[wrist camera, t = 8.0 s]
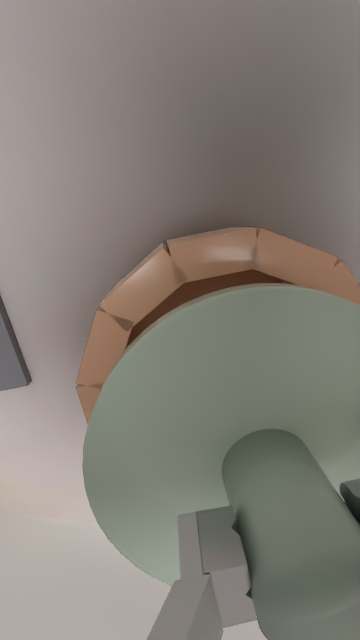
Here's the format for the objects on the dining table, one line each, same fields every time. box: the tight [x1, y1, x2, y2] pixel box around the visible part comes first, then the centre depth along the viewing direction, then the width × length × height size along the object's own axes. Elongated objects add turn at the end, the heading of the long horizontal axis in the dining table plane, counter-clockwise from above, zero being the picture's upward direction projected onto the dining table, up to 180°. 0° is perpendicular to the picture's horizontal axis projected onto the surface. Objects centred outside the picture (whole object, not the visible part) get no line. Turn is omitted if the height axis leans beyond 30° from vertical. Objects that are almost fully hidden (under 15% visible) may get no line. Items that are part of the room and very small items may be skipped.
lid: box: [83, 283, 360, 640], centre depth 9 cm, size 12×12×5 cm
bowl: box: [76, 227, 360, 423], centre depth 17 cm, size 14×14×6 cm
